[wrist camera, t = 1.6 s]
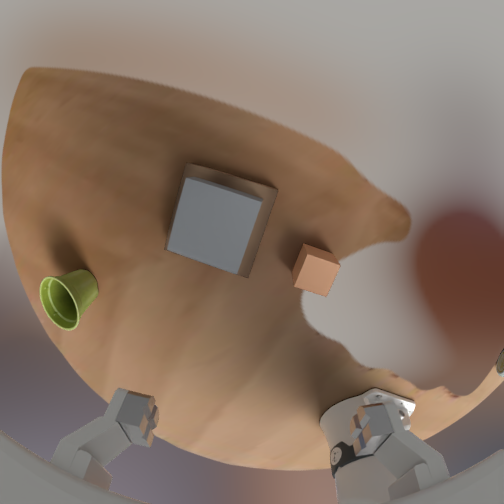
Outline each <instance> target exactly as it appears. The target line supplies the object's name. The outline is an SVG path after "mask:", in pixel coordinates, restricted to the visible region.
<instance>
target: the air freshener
mask: <svg viewBox="0 0 504 504" xmlns="http://www.w3.org/2000/svg"><path fill="white" fill-rule="evenodd" d="M497 373H498V374H499V375H500V376H501V377H504V349H503V350H502V352H501V353H500V356H499V358H498V361H497Z"/></svg>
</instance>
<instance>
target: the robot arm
mask: <svg viewBox="0 0 504 504" xmlns="http://www.w3.org/2000/svg"><path fill="white" fill-rule="evenodd" d="M414 408H415V402H414V401H412V400H409V399H406V398H403V397H400V396H397V395H394V394H391V393H389V392H386V391H383V390H380V389H377V388H374V389H371V390H369V391H367V392H365V393H364V394H362V395H360V396H357V397H353V398H349V399H346V400H344V401H342V402H339V403H337V404H336V405H334V406H332V407H331V408H330V409H328V410H327V411H326V412H325V413H324V414H323V416H322V417H321V420H320V427H321V429H322V430H323V432H324V434H325V437H326V439H327V442H328V445H329V448H330V462H331V470H332V475H333V477H334V478H335V482H336V491H337V501H338V504H504V449H501V450H499V451H497V452H496V453H494V454H492V455H491V456H489V457H487V458H486V459H484V460H483V461H481V462H479V463H477V464H476V465H474V466H472V467H470V468H468V469H466V470H465V471H463V472H461V473H459V474H457V475H455V476H453V477H451V478H450V475H449V472H448V470H447V467H446V464H445V461H444V459H443V456H442V455H441V454H440V453H439V452H437V451H436V450H434V449H433V448H432V447H430V446H429V445H428V444H426V443H425V442H424V441H422V440H421V439H419V438H418V437H417V436H415V435H414V434H413V433H412V432H410V431H409V429H410V425H411V422H410V418H409V417H410V415H411V414H412V412H413V411H414ZM158 420H159V410H158V407H157V406H156V405H155V398H154V396H151V395H146V394H142V393H137V392H133V391H130V390H126V389H122V388H118V389H117V390H116V391H115V393H114V395H113V397H112V399H111V402H110V404H109V406H108V408H107V410H106V412H105V415H104V416H103V417H101V416H100V417H98V418H97V419H95V420H93V421H92V422H90V423H88V424H87V425H85V426H83V427H81V428H80V429H78V430H76V431H75V432H73V433H71V434H69V435H68V436H66V437H64V438H62V439H61V440H60V443H59V445H58V447H57V449H56V451H55V453H54V455H53V457H52V459H51V462H48V461H46V460H44V459H43V458H41V457H39V456H38V455H36V454H35V453H33V452H31V451H30V450H28V449H27V448H25V447H24V446H22V445H20V444H19V443H18V442H16V441H15V440H14V439H12V438H11V437H10V436H8V435H7V434H5V433H4V432H3V431H1V430H0V504H150V503H146V502H142V501H139V500H136V499H133V498H129V497H126V496H123V495H120V494H117V493H115V492H112V491H109V488H110V484H111V481H112V475H111V474H110V473H109V472H108V471H107V470H106V469H105V468H104V466H105V465H107V464H108V463H109V462H110V461H112V460H113V459H114V458H115V457H117V456H118V455H119V454H120V453H121V452H123V451H124V450H125V449H126V448H127V447H129V446H130V445H131V443H133V444H137V445H141V446H145V447H151V444H152V440H153V437H154V434H153V432H152V430H153V429H154V428H156V427H157V424H158Z"/></svg>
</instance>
